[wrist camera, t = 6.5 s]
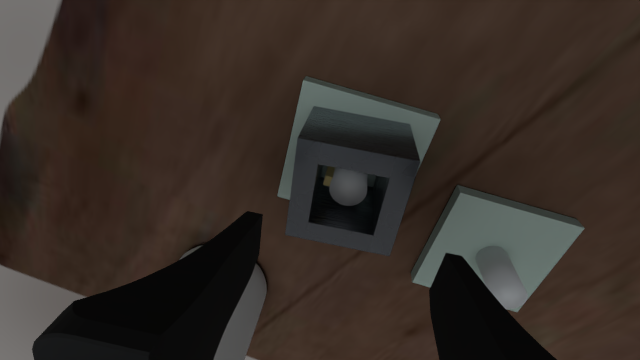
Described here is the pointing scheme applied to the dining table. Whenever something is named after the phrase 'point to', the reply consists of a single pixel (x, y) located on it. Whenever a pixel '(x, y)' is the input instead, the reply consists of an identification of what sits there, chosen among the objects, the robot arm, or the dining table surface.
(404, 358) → the dining table surface
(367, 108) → the square peg base
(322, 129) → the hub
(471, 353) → the robot arm
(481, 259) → the square peg board
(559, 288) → the dining table surface
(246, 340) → the milk bottle
